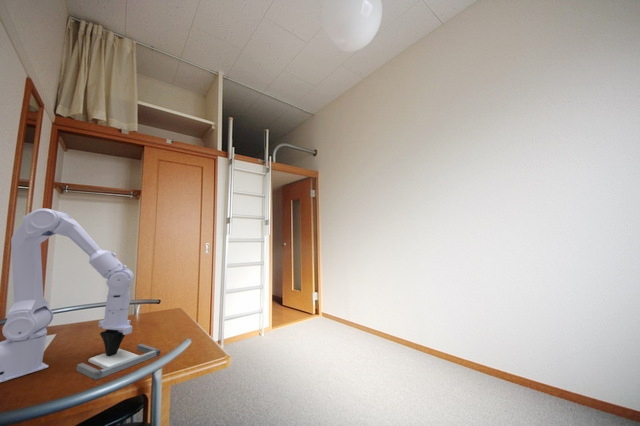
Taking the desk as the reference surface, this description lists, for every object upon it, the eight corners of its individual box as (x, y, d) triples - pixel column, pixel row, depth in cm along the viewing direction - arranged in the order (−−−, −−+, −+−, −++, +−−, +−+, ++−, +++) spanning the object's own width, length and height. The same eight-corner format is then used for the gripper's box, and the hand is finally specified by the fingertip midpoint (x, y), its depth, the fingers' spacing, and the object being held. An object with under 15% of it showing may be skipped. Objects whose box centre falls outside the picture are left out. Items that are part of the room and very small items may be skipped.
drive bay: (95, 380, 63) (96, 373, 63) (76, 370, 67) (77, 364, 67) (160, 354, 77) (160, 349, 78) (140, 348, 82) (141, 343, 82)
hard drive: (143, 356, 74) (120, 347, 80) (111, 367, 67) (88, 357, 72) (142, 361, 74) (119, 353, 79) (110, 374, 67) (87, 363, 72)
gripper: (145, 308, 77) (139, 354, 75) (119, 303, 83) (113, 345, 81) (119, 314, 71) (112, 364, 69) (93, 307, 77) (86, 353, 75)
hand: (111, 354), depth 75 cm, fingers closed
